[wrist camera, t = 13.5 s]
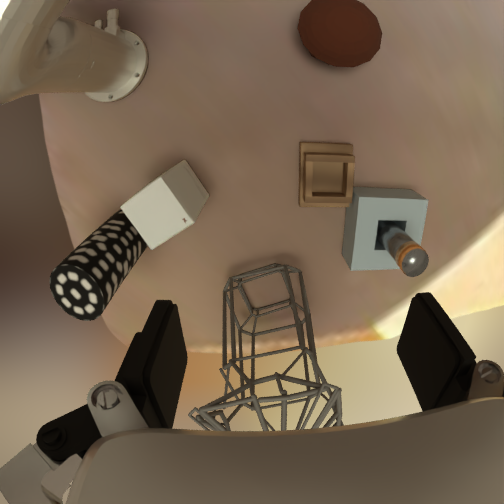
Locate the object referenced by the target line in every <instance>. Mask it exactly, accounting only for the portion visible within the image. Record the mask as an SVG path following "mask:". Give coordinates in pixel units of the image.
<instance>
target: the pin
mask: <svg viewBox="0 0 504 504" xmlns="http://www.w3.org/2000/svg"><path fill="white" fill-rule="evenodd" d="M376 238H377V240H378V241H379V242H380V243H381V244H382V246H383V247H384V248H385V249H386V250H387V252H388V253H389V254H390V255H391V256H392V258H393V259H394V260H395V261H396V264H397V265H398V266H399V268H400V269H401V270H402V271H403V273H404V274H406V275H407V276H409V277H415V276H418V275H420V274H421V273H422V272H423V271H424V270H425V269H426V267H427V265H428V261H429V259H428V255H427V253H426V251H425V250H424V249H423V248H422V247H421V246H420V245H419V244H418V243H416V242H415V241H414V240H413V239H412V238H411V237H410V236H409V235H408V234H407V233H405V232H404V231H403V230H402V229H401V228H400V227H399V226H398V225H397V224H396V223H395V222H394V221H393V220H378V227H377V234H376Z"/></svg>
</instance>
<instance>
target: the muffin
mask: <svg viewBox="0 0 504 504" xmlns="http://www.w3.org/2000/svg"><path fill="white" fill-rule="evenodd" d="M298 30H299V33H300V36H301V39H302V42H303V45H304V46H305V47H306V48H307V49H308V50H309V52H310V54H311V56H313V57H315V58H317V59H319V60H322V61H324V62H325V63H327V64H330V65H333V66H339V67H355V66H358V65H360V64H363V63H365V62H368V61H370V60H371V59H372V57H373V56H374V55H375V54H376V52H377V51H378V50H379V49H380V44H381V37H382V31H381V29H380V26H379V23H378V20H377V17H376V16H375V15H374V14H373V13H372V12H371V11H370V10H369V9H368V8H367V7H366V6H365V5H364V4H363V3H361V2H359V1H357V0H311V1H310V3H309V4H308V5H307V6H306V7H305V8H304V9H303V10H302V11H301V13H300V19H299V24H298Z"/></svg>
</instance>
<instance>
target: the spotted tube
mask: <svg viewBox="0 0 504 504" xmlns="http://www.w3.org/2000/svg"><path fill="white" fill-rule="evenodd" d="M147 246H148V245H147V243H146V242H145V241H144V239H143V238H142V236H141V235H140V234H139V232H138V231H137V229H136V228H135V227H134V225H133V224H132V223H131V221H130V220H129V219H128V217H127V216H126V215H125V213H124V212H123V210H120V211H118V212H116V213H115V214H114V215H113V216H111V217H110V218H109V219H108V220H107V221H106V222H104V223H103V224H102V225H101V226H100V227H99V228H98V229H96V230H95V231H94V232H93V233H92V234H91V235H90V236H89V237H87V238H86V239H85V240H84V241H83V242H82V243H81V244H80V245H79V246H78V247H77V248H75V249H74V250H73V251H72V252H71V253H70V254H69V255H68V256H67V257H66V258H65V259H64V260H63V261H62V262H61V263H60V264H59V265H58V266H57V267H56V268H55V269H54V270H53V271H52V273H51V276H50V289H51V292H52V294H53V297H54V298H55V300H56V302H57V303H58V304H59V306H60V307H61V308H62V309H63V310H64V311H65V312H67V313H68V314H69V315H71V316H73V317H75V318H77V319H80V320H85V321H91V320H94V319H96V318H98V317H99V316H100V315H101V314H102V313H103V311H104V309H105V308H106V306H107V305H108V303H109V302H110V300H111V299H112V297H113V295H114V294H115V292H116V291H117V289H118V288H119V286H120V285H121V283H122V282H123V280H124V279H125V278H126V276H127V275H128V273H129V272H130V270H131V269H132V267H133V266H134V264H135V263H136V262H137V260H138V259H139V257H140V256H141V254H142V253H143V252H144V250H145V249H146V247H147Z"/></svg>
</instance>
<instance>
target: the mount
mask: <svg viewBox="0 0 504 504" xmlns="http://www.w3.org/2000/svg"><path fill="white" fill-rule="evenodd" d="M352 152H353V145H351V144H342V143H320V142H300V163H299V206H300V207H349V203H352V194H353V180H354V163H355V156H353V155H352Z"/></svg>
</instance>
